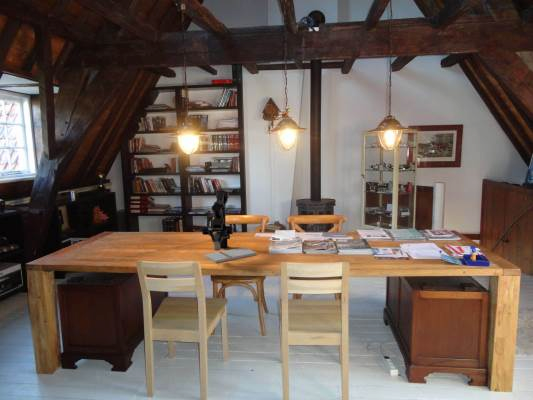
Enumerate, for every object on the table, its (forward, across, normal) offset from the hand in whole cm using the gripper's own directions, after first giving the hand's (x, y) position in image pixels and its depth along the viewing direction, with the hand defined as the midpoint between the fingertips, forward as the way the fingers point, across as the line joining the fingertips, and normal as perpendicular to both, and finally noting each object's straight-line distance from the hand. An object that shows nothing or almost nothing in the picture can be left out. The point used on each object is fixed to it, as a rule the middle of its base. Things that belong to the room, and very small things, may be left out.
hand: (216, 242), depth 234 cm
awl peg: (+3, 0, +5) cm, 5 cm away
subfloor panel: (0, +7, +18) cm, 19 cm away
